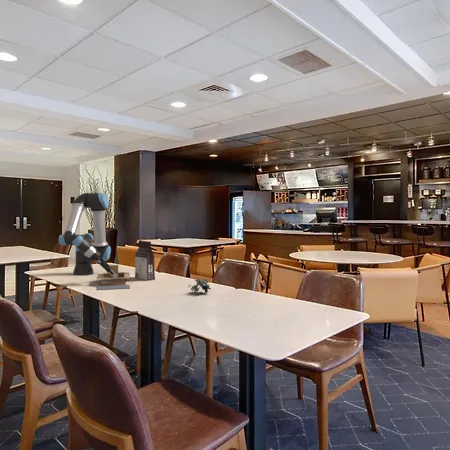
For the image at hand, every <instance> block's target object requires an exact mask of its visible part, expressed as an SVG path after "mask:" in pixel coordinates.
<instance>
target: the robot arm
mask: <svg viewBox="0 0 450 450" xmlns="http://www.w3.org/2000/svg"><path fill="white" fill-rule="evenodd" d="M109 203H110V202H109V199H108V196H107V194H106V193H103V192H84V193H81V194H79V195H77V197H76V198H75V199H74V200H73V202H72V204H71V209H72V210H71V211H70V215H69V217H68V222H67V223H66V224H67V225H66V227H65V230H64V234H60V235H59V236H58V243H59V245H61V246H74V247H75V251H74V252H75V265H74V268H73V272H72V274H73V275H74V276H88V275H93V274H94V273H95V272H94V268H93V264H92V263H93V262H96V263H97V264H98V265H99V266H100V267H102V268H103V270H105V271H106V273H109V274H111V275H112V276H113V277H114V278H117V277H118V275H117V274H116V273H115V272H114V271H112V270H111V269H110V268H109V265H110V264H108V263H107V262H106V261H108V260H109V259H110V257H111V253H112V248H111V246H110V245H109V243H108V242H107V238H106V235H107V234H106V217H105V212H106V211H107V208H109V205H110V204H109ZM86 209H90V212H91V213H92V218H93V220H92V221H93V222H92V223H93V234H94V235H92V233H89V232H87V233H84V234H77V232H78V228H79V225H80V222H81V219H82V217H83V212H84V211H85V210H86Z"/></svg>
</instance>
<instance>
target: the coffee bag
mask: <svg viewBox="0 0 450 450" xmlns="http://www.w3.org/2000/svg"><path fill="white" fill-rule="evenodd" d="M151 248H152V242H151V241H146V240H138V248H137V251H136V252H135V255H134V267H135V268H134V279H138V280H139V279H140V280H142V281H146V282H148V281H154V280H156V276H155V275H156V273H155V254H154V252H153V250H152V249H151Z"/></svg>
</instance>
